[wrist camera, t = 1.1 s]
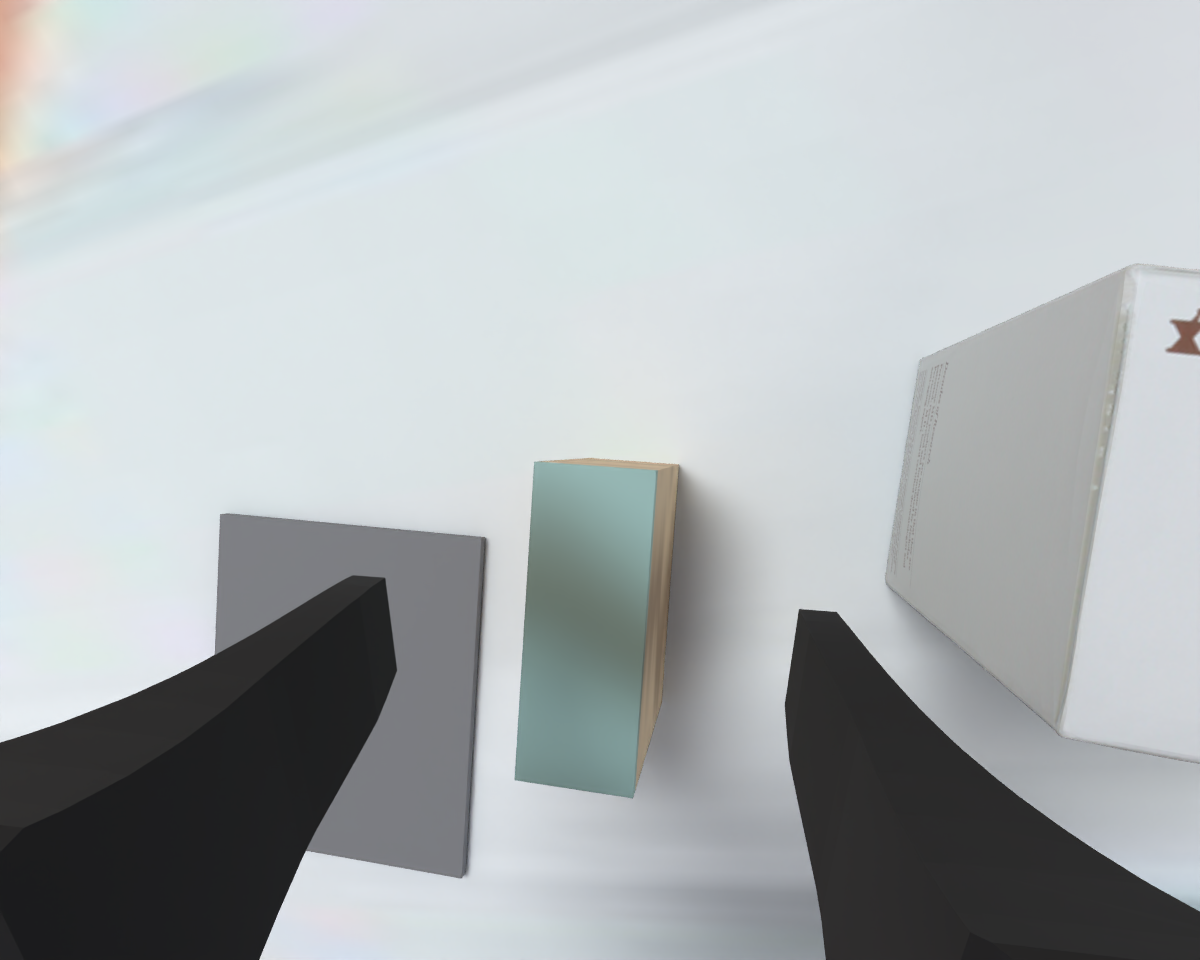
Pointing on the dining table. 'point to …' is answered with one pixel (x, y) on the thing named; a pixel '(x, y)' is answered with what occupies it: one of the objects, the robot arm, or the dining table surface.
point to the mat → (419, 690)
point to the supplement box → (1068, 508)
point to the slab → (595, 621)
